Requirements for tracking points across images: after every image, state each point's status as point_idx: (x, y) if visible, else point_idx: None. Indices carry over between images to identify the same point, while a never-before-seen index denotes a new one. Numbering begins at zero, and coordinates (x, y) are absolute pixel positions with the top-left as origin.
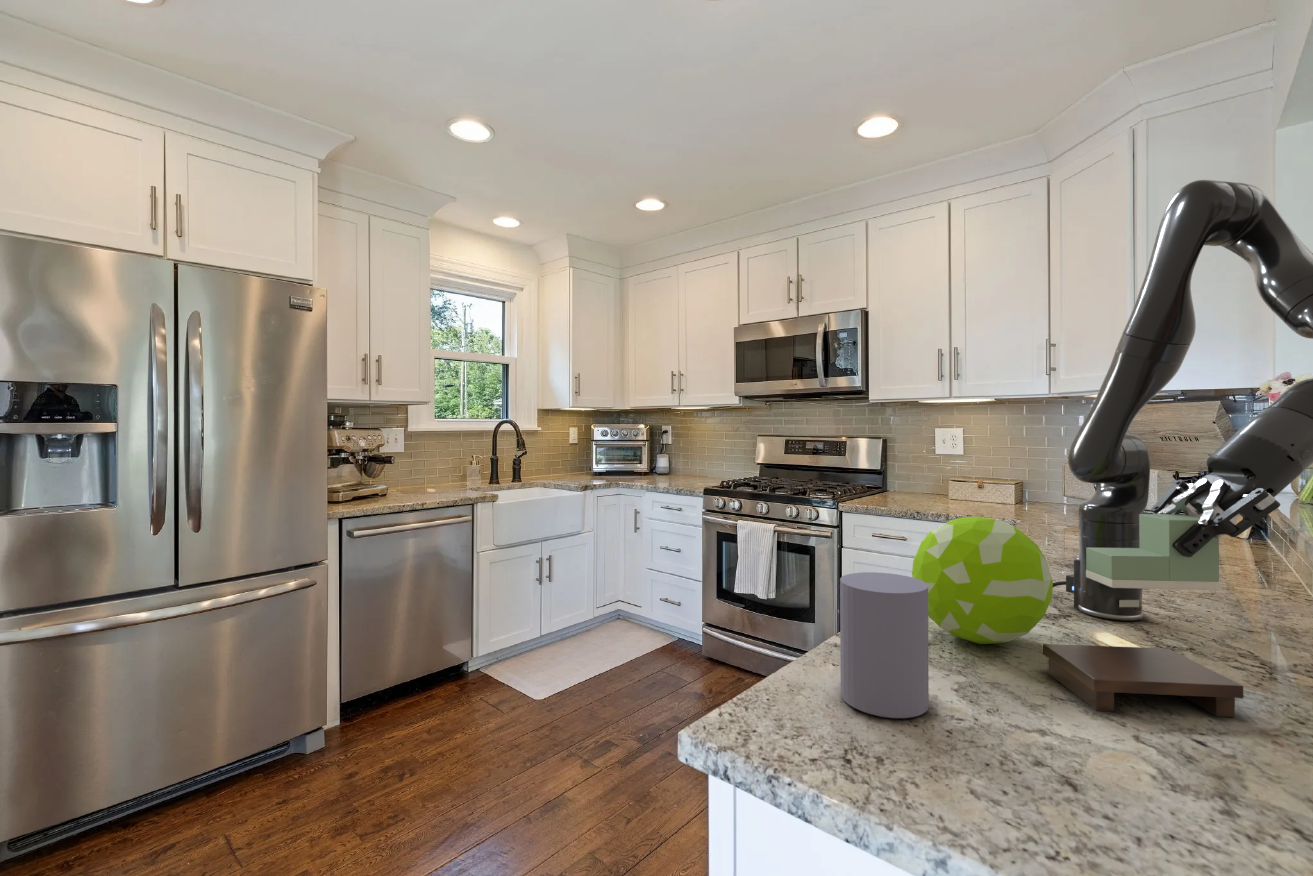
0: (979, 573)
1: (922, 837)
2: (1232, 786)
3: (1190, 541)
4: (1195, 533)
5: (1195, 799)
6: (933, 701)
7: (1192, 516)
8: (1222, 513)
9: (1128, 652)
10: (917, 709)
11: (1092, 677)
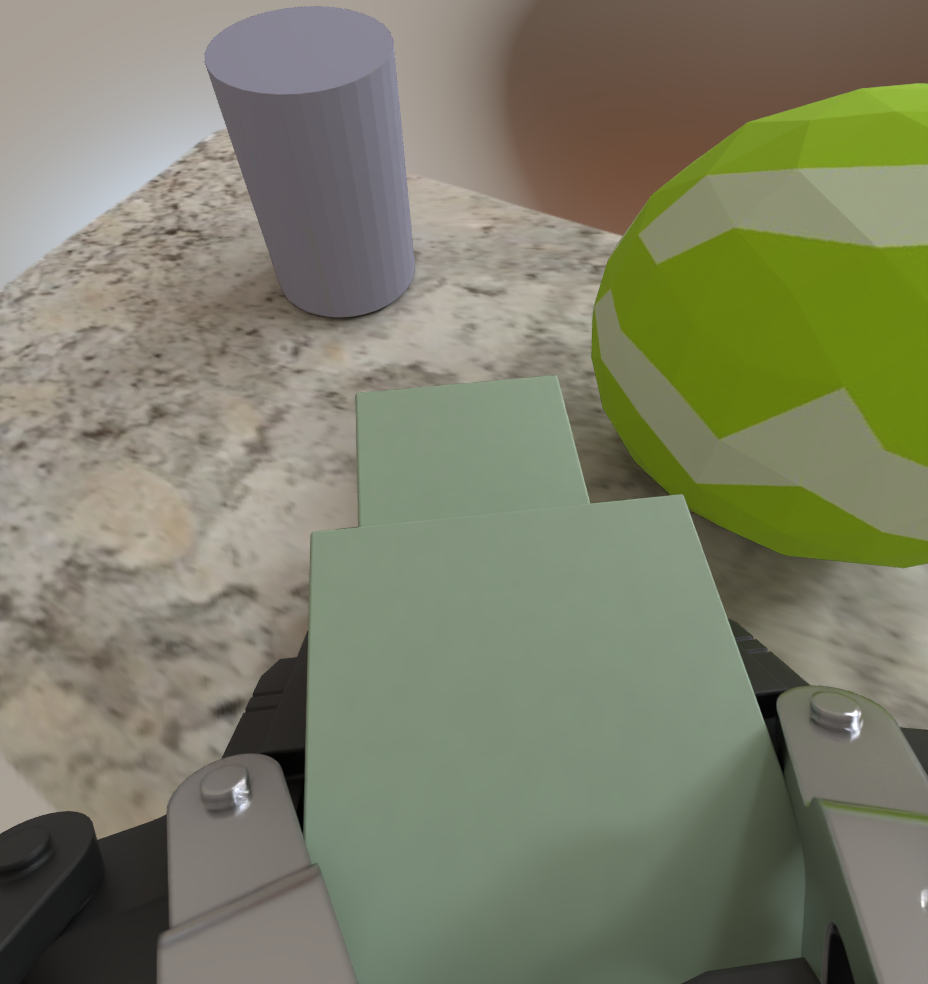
0: (621, 253)
1: (18, 275)
2: (69, 665)
3: (258, 686)
4: (265, 728)
5: (41, 580)
6: (359, 330)
7: (638, 930)
8: (1, 932)
9: None
10: (286, 291)
11: (344, 528)
